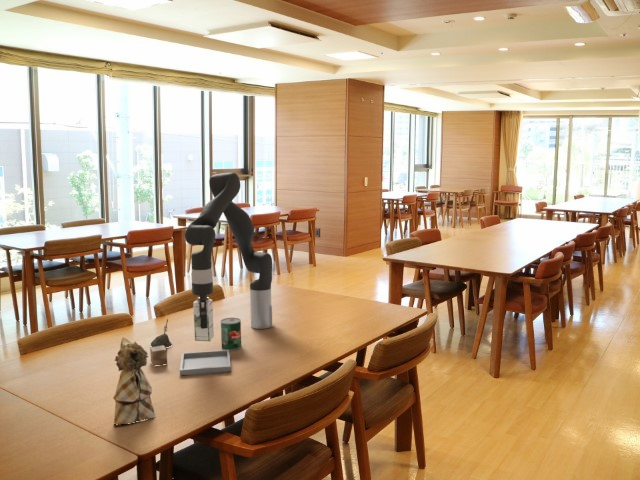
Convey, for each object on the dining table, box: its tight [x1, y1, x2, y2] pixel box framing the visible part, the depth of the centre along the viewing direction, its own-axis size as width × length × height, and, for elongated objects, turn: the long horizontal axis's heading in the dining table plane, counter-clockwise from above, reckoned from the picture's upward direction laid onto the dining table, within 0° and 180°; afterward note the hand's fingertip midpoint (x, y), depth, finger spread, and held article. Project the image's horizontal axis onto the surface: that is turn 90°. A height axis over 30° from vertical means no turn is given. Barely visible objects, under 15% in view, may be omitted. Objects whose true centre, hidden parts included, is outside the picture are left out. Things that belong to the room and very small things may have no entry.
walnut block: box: [149, 345, 168, 367], centre depth 220 cm, size 5×5×6 cm
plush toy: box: [112, 336, 156, 426], centre depth 176 cm, size 14×14×25 cm
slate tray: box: [179, 349, 232, 376], centre depth 218 cm, size 18×18×2 cm
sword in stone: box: [150, 318, 173, 348], centre depth 239 cm, size 10×8×12 cm
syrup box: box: [192, 298, 215, 342], centre depth 216 cm, size 6×6×14 cm
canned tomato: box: [220, 317, 242, 351], centre depth 237 cm, size 8×8×11 cm
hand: (204, 325), depth 216 cm, fingers closed on syrup box, 6 cm apart
